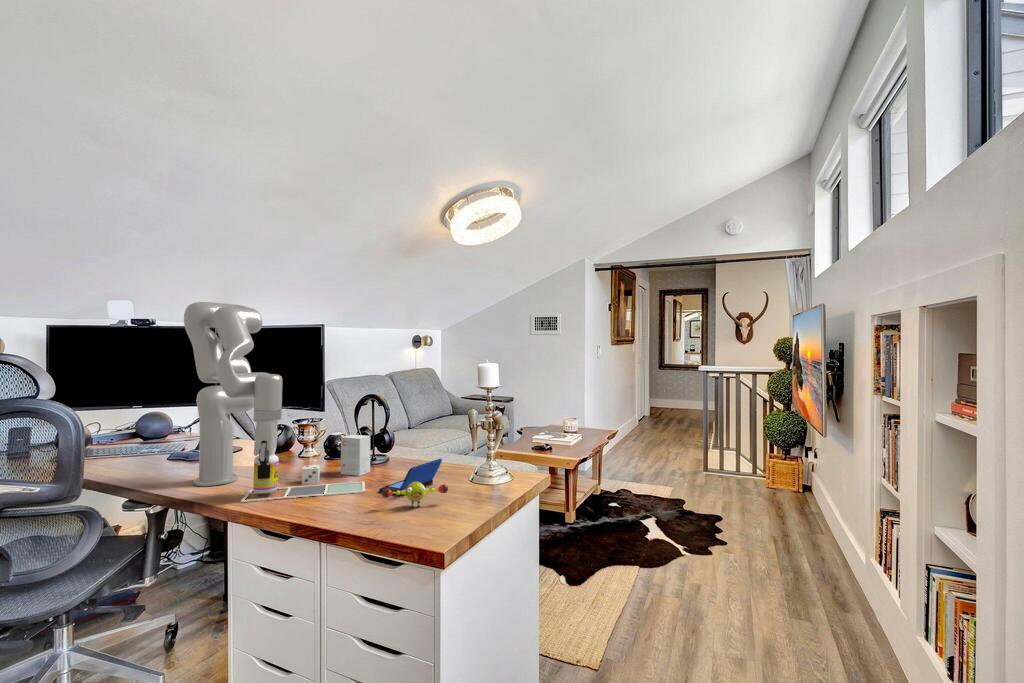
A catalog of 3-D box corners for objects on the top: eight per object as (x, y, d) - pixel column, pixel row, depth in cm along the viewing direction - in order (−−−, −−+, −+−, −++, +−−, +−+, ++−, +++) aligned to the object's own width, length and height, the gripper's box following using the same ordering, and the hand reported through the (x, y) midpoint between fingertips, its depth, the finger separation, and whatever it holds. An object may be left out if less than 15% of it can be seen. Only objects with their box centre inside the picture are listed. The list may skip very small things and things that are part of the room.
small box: (370, 472, 174) (370, 435, 175) (359, 476, 168) (359, 438, 169) (351, 470, 177) (352, 434, 177) (340, 474, 171) (340, 437, 172)
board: (249, 491, 150) (249, 490, 150) (364, 482, 160) (364, 481, 160) (240, 502, 138) (240, 501, 138) (365, 492, 148) (365, 490, 149)
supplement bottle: (277, 492, 144) (278, 449, 144) (251, 495, 142) (252, 450, 142) (278, 486, 151) (279, 444, 151) (254, 488, 148) (255, 446, 148)
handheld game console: (411, 481, 162) (411, 453, 163) (443, 487, 156) (443, 457, 156) (376, 493, 149) (377, 462, 149) (410, 499, 142) (410, 467, 142)
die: (303, 481, 163) (303, 465, 163) (319, 479, 164) (319, 464, 164) (301, 484, 158) (301, 469, 158) (318, 483, 159) (318, 468, 159)
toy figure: (382, 512, 130) (382, 487, 130) (381, 506, 135) (381, 481, 135) (449, 506, 135) (449, 482, 135) (446, 501, 140) (446, 477, 140)
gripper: (259, 412, 154) (257, 468, 153) (247, 420, 137) (245, 484, 137) (285, 411, 156) (284, 467, 156) (276, 419, 139) (275, 482, 139)
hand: (266, 474), depth 146 cm, fingers closed on supplement bottle, 6 cm apart
